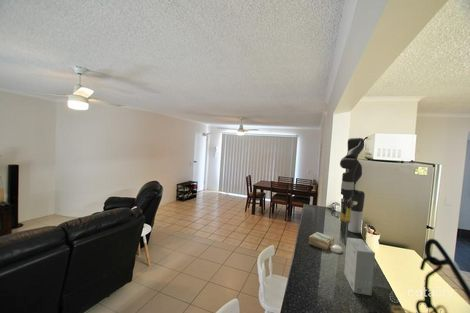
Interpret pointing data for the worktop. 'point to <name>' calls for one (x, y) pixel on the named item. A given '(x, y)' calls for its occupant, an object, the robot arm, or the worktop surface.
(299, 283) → the worktop surface
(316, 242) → the plinth
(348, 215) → the sauce bottle
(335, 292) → the worktop surface
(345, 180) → the robot arm
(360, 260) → the hard drive box
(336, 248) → the white round dome
